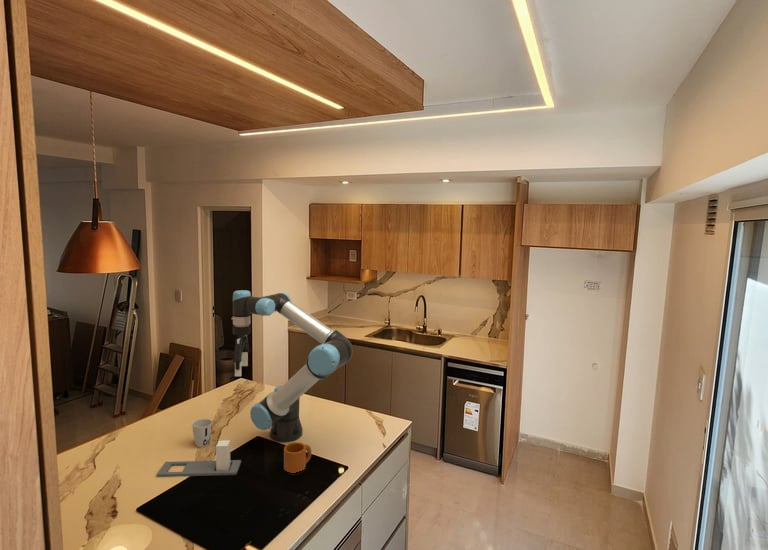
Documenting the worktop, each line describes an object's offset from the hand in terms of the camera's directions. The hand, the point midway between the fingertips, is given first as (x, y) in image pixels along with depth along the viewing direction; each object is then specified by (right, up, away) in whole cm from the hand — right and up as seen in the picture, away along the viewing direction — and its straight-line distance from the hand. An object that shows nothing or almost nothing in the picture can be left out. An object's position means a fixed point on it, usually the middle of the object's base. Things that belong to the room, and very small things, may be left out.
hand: (241, 370), depth 194 cm
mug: (+29, -36, -17) cm, 49 cm away
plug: (-1, -35, -20) cm, 41 cm away
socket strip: (-10, -35, -21) cm, 42 cm away
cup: (-17, -33, -2) cm, 37 cm away
